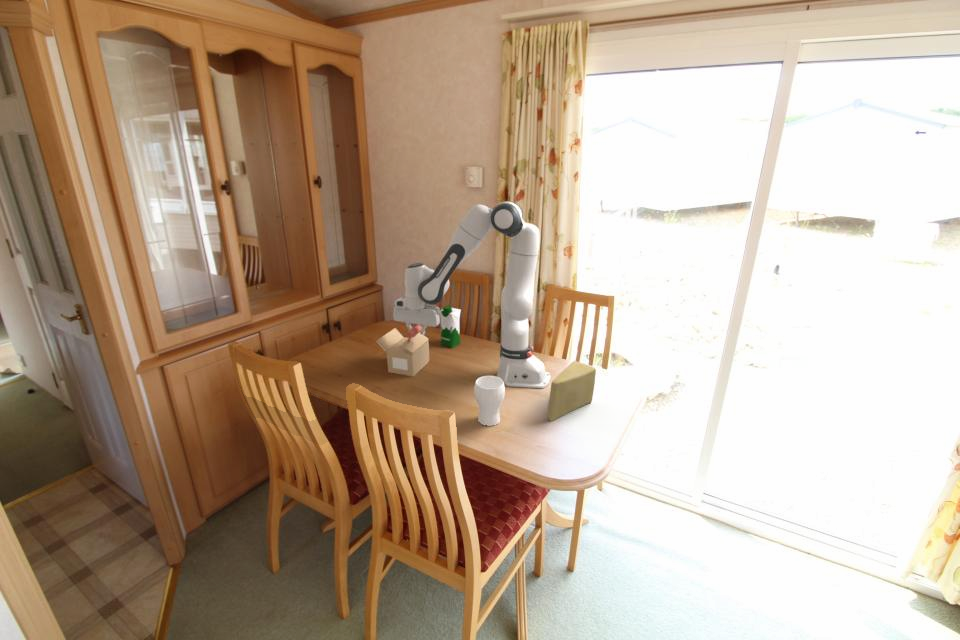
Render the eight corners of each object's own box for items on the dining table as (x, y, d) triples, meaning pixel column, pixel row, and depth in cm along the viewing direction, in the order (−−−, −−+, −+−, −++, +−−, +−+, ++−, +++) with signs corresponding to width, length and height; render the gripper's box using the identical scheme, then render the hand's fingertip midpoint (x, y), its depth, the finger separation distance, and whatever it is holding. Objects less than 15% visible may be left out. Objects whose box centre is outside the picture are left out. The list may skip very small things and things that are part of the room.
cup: (467, 419, 152) (467, 381, 147) (488, 408, 159) (489, 372, 154) (489, 432, 145) (489, 393, 140) (510, 420, 152) (511, 382, 147)
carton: (429, 361, 197) (428, 340, 194) (413, 376, 183) (412, 354, 179) (405, 357, 201) (404, 337, 197) (388, 372, 186) (386, 351, 183)
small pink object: (428, 340, 193) (434, 329, 190) (412, 354, 179) (419, 342, 177) (415, 331, 194) (422, 320, 191) (399, 344, 180) (405, 332, 177)
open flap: (386, 350, 183) (385, 351, 184) (403, 337, 197) (402, 338, 197) (377, 340, 183) (375, 341, 183) (395, 327, 197) (394, 328, 197)
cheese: (560, 426, 149) (564, 388, 144) (537, 416, 155) (540, 378, 150) (593, 402, 164) (597, 366, 159) (571, 393, 170) (574, 358, 165)
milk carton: (438, 345, 214) (437, 307, 207) (448, 339, 221) (448, 302, 214) (452, 349, 209) (452, 310, 203) (463, 343, 217) (462, 305, 210)
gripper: (442, 303, 180) (442, 334, 184) (398, 297, 186) (399, 327, 190) (436, 307, 174) (436, 339, 179) (390, 301, 180) (392, 332, 185)
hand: (416, 333), depth 185 cm, fingers open, 4 cm apart
